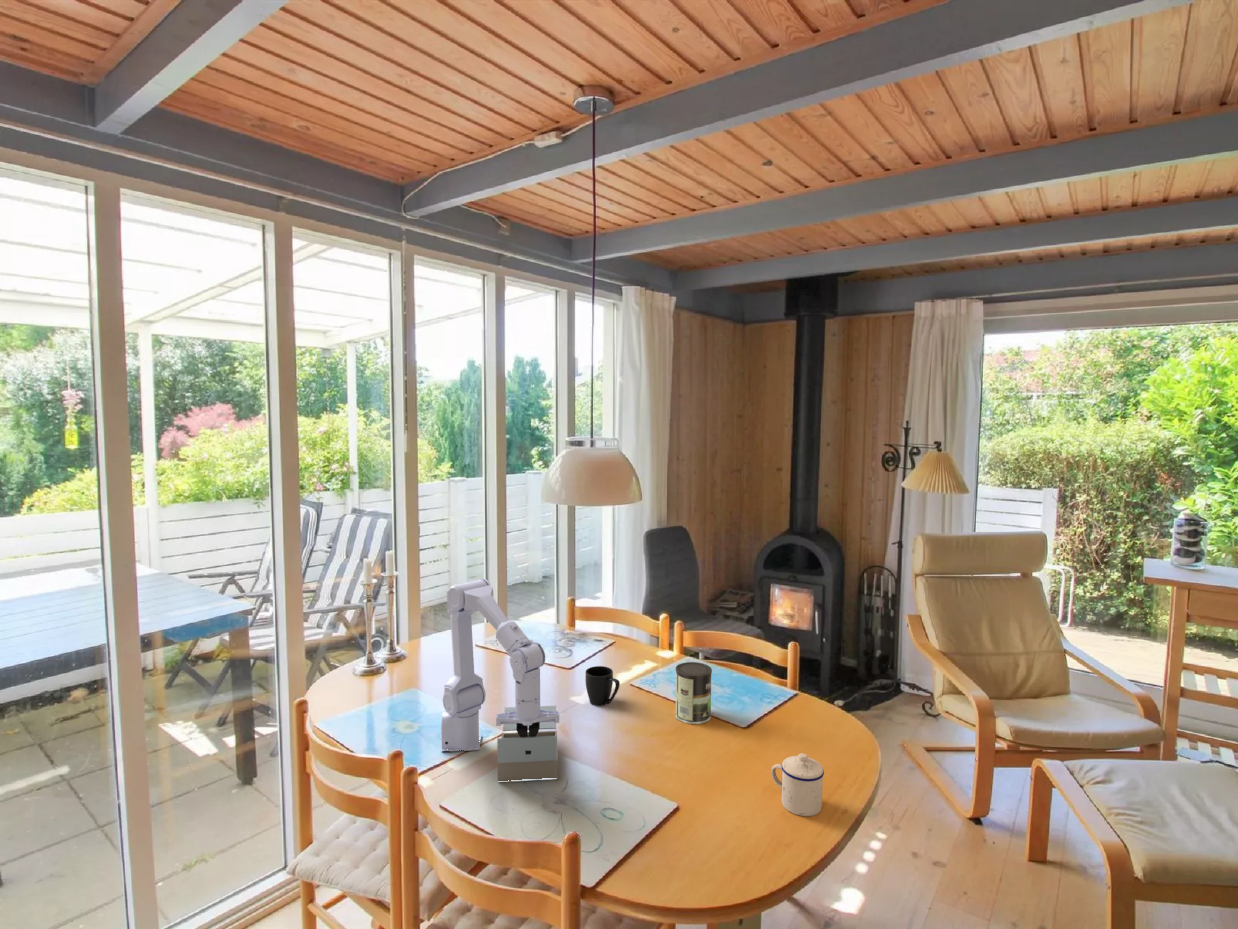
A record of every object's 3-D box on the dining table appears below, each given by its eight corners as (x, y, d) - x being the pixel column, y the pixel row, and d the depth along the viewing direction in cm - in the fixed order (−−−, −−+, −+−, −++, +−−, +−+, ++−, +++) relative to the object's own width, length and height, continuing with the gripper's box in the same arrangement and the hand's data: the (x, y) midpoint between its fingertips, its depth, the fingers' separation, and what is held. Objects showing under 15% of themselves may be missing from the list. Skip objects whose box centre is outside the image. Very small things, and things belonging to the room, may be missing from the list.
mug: (607, 715, 188) (607, 683, 187) (579, 701, 196) (579, 671, 196) (627, 706, 194) (627, 675, 193) (599, 693, 202) (600, 663, 201)
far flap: (504, 707, 174) (504, 708, 174) (503, 730, 168) (503, 731, 168) (556, 705, 175) (556, 706, 175) (556, 727, 169) (556, 728, 169)
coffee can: (712, 709, 192) (712, 663, 191) (709, 726, 182) (710, 677, 181) (677, 706, 194) (677, 660, 193) (672, 722, 184) (673, 674, 183)
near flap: (498, 761, 153) (498, 763, 152) (497, 738, 150) (497, 739, 150) (556, 758, 154) (556, 760, 154) (556, 735, 151) (556, 736, 151)
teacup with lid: (829, 804, 146) (831, 754, 145) (811, 823, 139) (813, 771, 138) (780, 783, 154) (781, 736, 153) (761, 801, 147) (762, 751, 146)
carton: (497, 782, 154) (497, 762, 153) (502, 751, 167) (502, 733, 167) (557, 779, 155) (557, 759, 155) (557, 749, 169) (557, 730, 168)
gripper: (494, 705, 147) (495, 763, 148) (559, 702, 149) (559, 759, 150) (497, 691, 154) (497, 747, 155) (558, 689, 156) (559, 743, 157)
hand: (528, 752), depth 153 cm, fingers closed, pressing on near flap
